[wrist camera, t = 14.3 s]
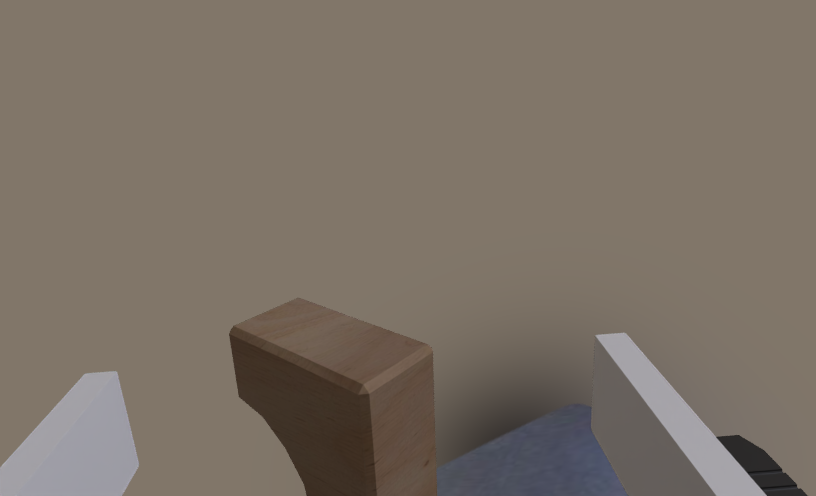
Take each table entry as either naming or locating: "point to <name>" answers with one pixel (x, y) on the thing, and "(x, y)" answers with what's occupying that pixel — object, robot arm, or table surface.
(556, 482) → the table surface
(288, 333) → the decorative block
